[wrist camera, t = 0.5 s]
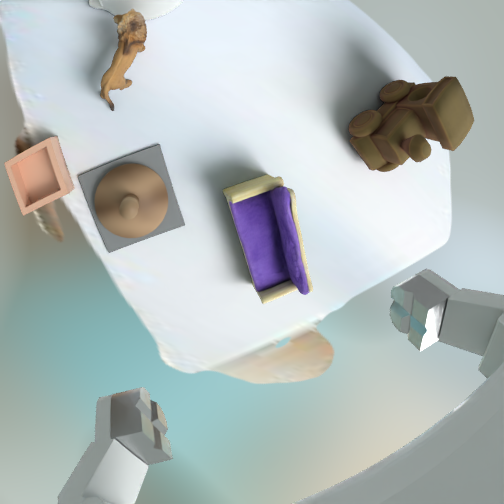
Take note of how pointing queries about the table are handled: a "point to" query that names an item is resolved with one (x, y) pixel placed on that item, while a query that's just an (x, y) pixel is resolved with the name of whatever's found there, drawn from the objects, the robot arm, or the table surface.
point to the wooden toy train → (411, 123)
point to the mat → (147, 158)
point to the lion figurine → (124, 52)
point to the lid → (131, 200)
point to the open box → (39, 175)
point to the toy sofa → (270, 236)
